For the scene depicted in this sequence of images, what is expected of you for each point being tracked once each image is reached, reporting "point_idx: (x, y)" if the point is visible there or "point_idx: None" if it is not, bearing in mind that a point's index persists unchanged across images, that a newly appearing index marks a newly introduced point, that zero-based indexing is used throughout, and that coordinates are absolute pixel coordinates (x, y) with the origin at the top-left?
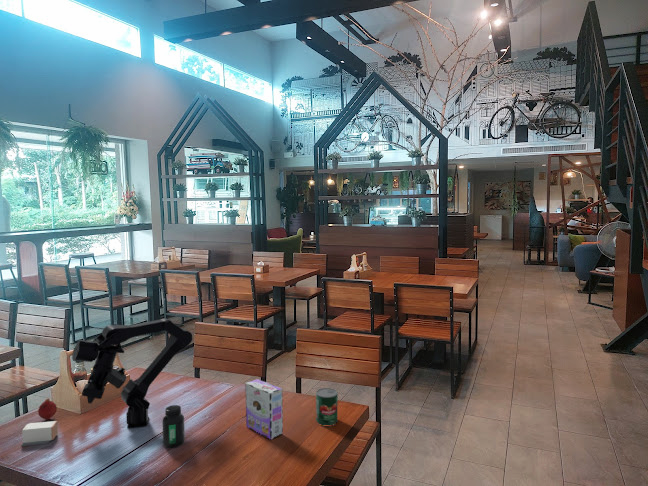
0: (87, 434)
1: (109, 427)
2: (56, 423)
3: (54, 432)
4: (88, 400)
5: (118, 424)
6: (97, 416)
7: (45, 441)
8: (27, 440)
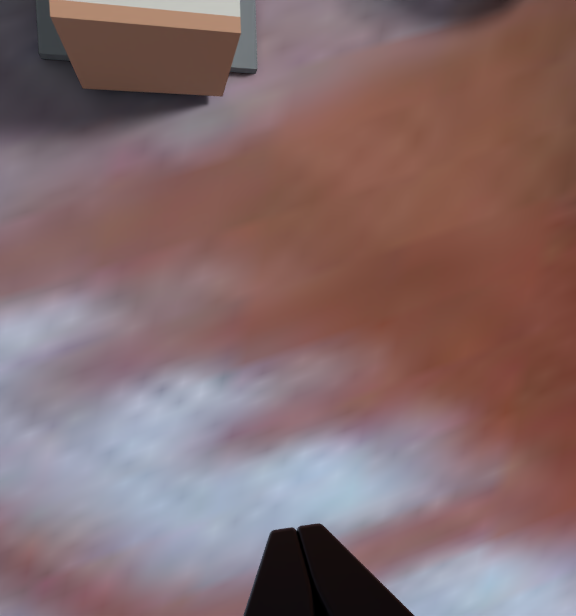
0: (175, 382)
1: None
2: (210, 40)
3: (127, 68)
4: (257, 593)
5: None
6: (510, 351)
7: None
8: None
